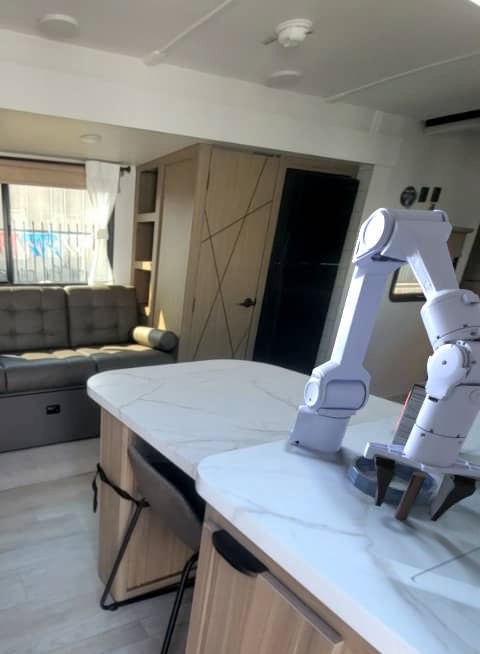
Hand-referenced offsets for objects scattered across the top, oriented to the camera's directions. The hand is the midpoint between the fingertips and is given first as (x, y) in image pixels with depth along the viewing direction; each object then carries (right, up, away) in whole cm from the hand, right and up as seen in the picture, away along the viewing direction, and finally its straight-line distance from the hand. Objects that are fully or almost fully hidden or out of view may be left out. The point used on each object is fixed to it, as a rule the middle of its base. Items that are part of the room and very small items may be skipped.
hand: (404, 510), depth 61 cm
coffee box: (+17, +6, +21) cm, 28 cm away
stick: (0, -3, +1) cm, 3 cm away
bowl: (+4, +1, +10) cm, 10 cm away
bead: (+1, +3, +9) cm, 9 cm away
